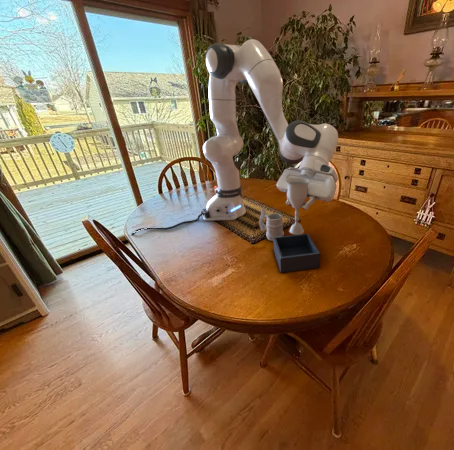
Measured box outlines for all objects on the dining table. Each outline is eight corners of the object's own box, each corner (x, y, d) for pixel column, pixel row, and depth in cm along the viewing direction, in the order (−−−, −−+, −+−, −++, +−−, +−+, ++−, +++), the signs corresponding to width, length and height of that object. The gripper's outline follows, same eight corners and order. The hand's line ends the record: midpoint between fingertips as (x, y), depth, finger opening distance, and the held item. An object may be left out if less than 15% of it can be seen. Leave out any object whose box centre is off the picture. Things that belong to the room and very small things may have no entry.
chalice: (308, 227, 84) (311, 178, 75) (305, 237, 78) (307, 185, 70) (288, 225, 86) (288, 177, 78) (283, 234, 81) (283, 183, 72)
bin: (280, 272, 80) (280, 258, 78) (273, 250, 92) (273, 237, 89) (319, 267, 82) (320, 253, 79) (307, 246, 94) (308, 233, 91)
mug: (277, 243, 96) (276, 217, 91) (254, 235, 103) (253, 210, 97) (287, 235, 102) (287, 210, 96) (265, 228, 108) (264, 204, 102)
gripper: (282, 161, 83) (266, 196, 80) (338, 169, 71) (321, 210, 69) (289, 171, 88) (274, 204, 86) (342, 179, 76) (327, 218, 74)
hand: (296, 207), depth 77 cm, fingers closed on chalice, 5 cm apart
